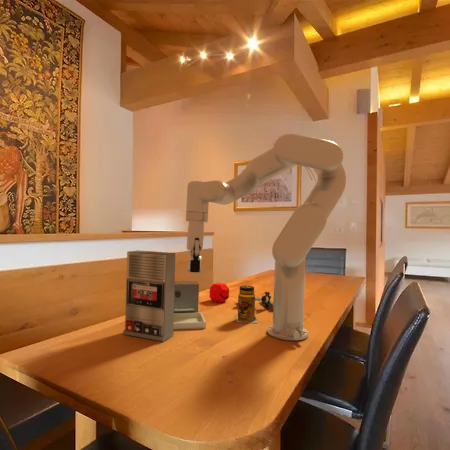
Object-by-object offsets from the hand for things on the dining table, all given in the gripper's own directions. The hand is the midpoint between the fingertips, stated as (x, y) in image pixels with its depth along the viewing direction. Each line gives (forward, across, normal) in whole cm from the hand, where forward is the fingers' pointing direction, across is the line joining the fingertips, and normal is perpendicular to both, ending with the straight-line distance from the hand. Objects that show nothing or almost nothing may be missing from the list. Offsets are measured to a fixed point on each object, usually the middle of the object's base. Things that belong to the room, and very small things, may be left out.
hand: (194, 270), depth 107 cm
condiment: (+18, -2, +20) cm, 27 cm away
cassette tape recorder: (+18, +11, -14) cm, 26 cm away
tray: (+18, +1, -2) cm, 18 cm away
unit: (+18, -8, -2) cm, 20 cm away
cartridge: (+1, 0, 0) cm, 1 cm away
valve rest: (+18, -18, +28) cm, 38 cm away
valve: (+18, -18, +28) cm, 38 cm away
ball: (+18, -28, +14) cm, 36 cm away
